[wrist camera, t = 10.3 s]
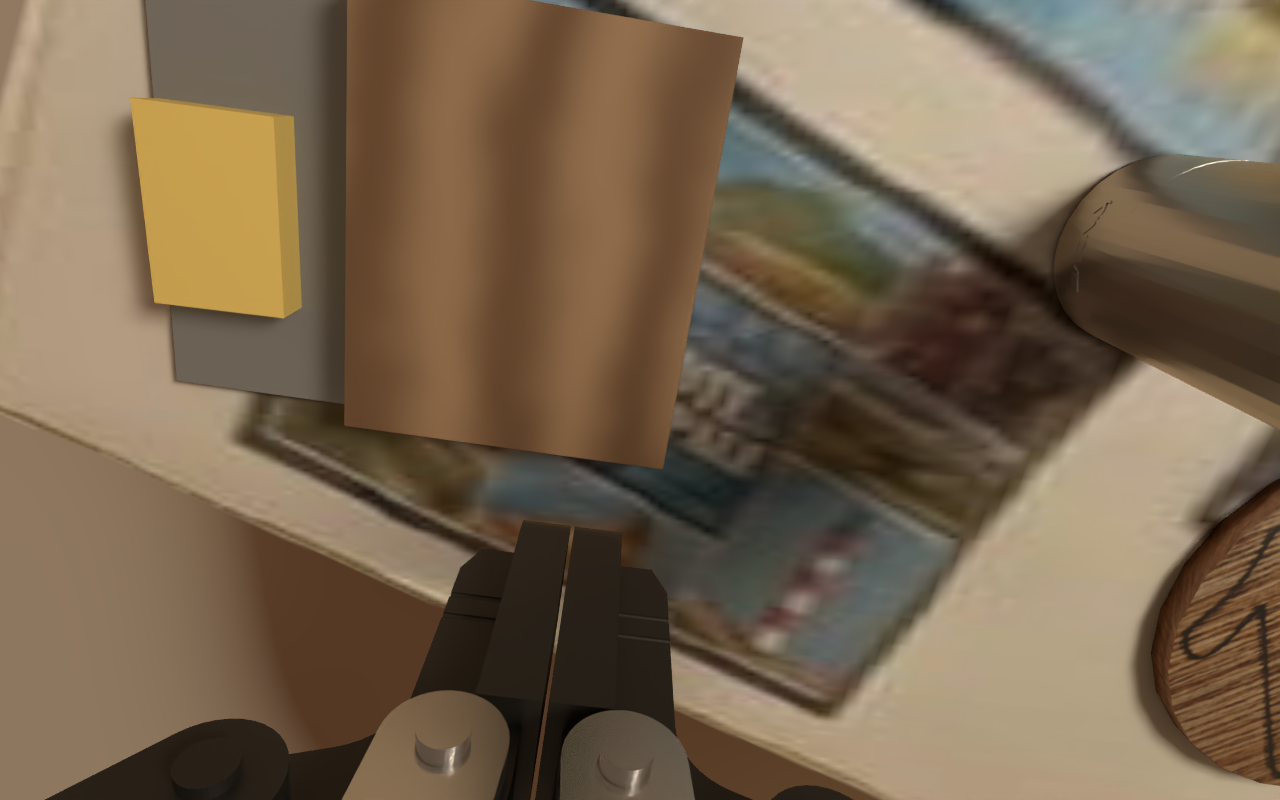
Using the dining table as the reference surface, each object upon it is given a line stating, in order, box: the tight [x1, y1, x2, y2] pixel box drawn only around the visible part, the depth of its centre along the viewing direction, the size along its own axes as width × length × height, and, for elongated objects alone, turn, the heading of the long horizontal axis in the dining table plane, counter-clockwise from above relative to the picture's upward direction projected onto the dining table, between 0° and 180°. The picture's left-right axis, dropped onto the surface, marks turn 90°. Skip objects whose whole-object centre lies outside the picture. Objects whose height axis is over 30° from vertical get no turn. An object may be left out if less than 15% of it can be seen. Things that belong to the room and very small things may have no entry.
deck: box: [344, 0, 743, 469], centre depth 35 cm, size 16×20×3 cm
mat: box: [145, 0, 347, 404], centre depth 35 cm, size 9×20×1 cm, turn 171°
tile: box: [130, 98, 302, 318], centre depth 34 cm, size 6×9×2 cm, turn 173°
